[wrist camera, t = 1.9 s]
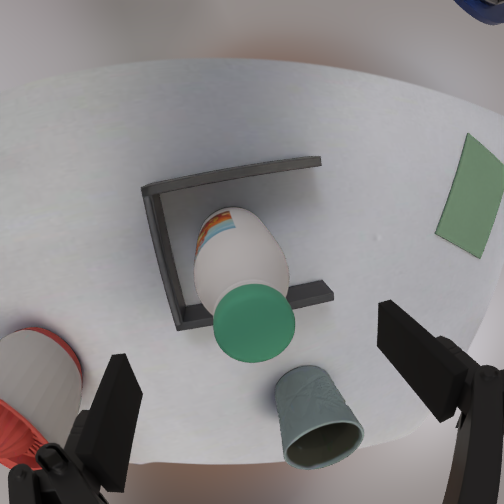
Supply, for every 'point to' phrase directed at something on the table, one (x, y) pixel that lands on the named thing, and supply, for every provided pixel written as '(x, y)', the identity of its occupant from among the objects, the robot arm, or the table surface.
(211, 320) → the dark grey u-shaped frame
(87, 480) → the robot arm
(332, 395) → the grey-green cup
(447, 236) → the mat
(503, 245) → the table surface
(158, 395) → the table surface
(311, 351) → the table surface
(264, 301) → the milk bottle
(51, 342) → the citrus juicer
